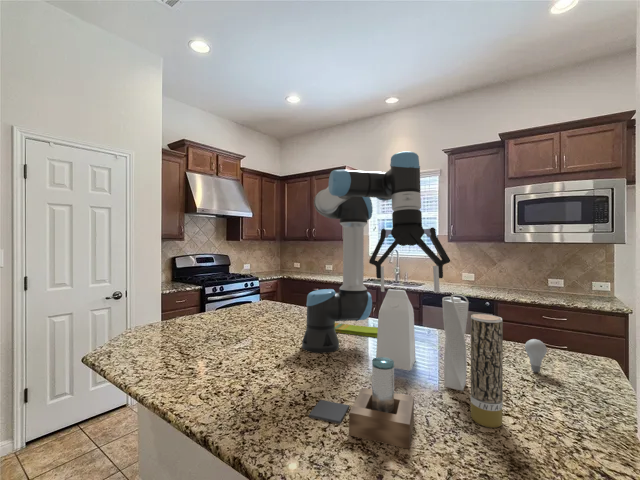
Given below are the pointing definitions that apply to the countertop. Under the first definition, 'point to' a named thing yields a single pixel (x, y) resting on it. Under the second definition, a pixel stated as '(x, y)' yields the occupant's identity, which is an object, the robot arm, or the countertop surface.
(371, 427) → the housing
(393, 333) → the milk
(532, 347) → the lightbulb
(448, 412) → the countertop surface
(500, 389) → the bark-print cylinder
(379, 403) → the teal-capped metal cylinder
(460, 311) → the skyscraper
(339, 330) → the dish towel
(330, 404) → the mat
